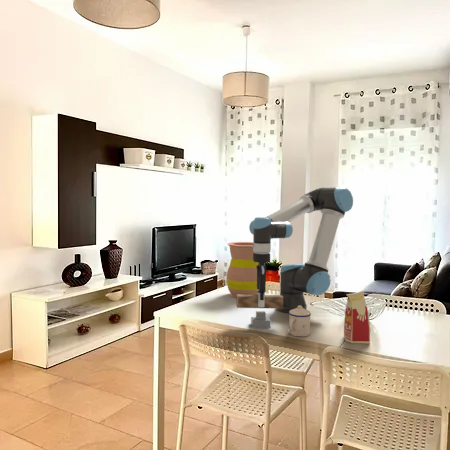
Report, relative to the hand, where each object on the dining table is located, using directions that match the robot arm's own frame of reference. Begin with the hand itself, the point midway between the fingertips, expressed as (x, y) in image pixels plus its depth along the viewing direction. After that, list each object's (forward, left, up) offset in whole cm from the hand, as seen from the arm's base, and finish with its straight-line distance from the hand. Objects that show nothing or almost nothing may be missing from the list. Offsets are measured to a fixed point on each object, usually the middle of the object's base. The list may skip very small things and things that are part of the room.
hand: (260, 305), depth 190 cm
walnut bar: (0, 0, -1) cm, 1 cm away
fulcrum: (0, 0, -9) cm, 9 cm away
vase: (+2, -58, -9) cm, 59 cm away
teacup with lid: (-14, +12, -9) cm, 21 cm away
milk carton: (-36, +19, -9) cm, 42 cm away
